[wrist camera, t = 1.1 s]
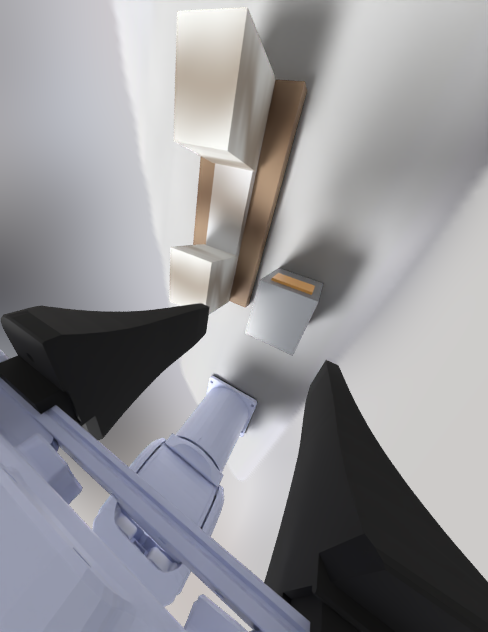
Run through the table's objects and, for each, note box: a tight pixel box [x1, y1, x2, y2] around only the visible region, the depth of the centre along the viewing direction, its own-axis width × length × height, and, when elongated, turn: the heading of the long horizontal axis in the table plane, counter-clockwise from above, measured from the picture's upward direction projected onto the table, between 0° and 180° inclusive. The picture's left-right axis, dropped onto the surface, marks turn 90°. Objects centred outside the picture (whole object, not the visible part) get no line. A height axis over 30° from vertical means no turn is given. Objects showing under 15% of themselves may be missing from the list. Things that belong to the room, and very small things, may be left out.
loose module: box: [245, 268, 323, 356], centre depth 17 cm, size 5×4×6 cm
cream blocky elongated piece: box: [169, 7, 307, 314], centre depth 15 cm, size 17×8×6 cm, turn 165°
